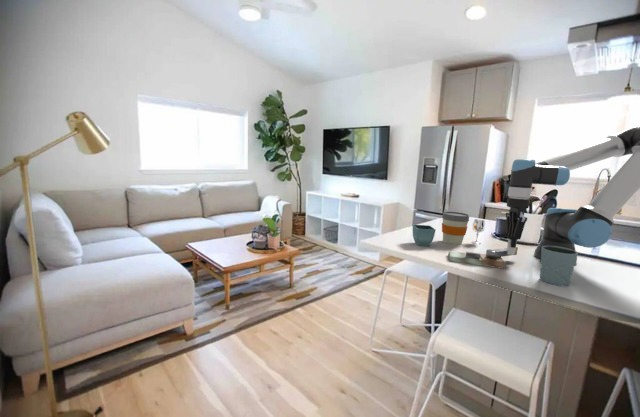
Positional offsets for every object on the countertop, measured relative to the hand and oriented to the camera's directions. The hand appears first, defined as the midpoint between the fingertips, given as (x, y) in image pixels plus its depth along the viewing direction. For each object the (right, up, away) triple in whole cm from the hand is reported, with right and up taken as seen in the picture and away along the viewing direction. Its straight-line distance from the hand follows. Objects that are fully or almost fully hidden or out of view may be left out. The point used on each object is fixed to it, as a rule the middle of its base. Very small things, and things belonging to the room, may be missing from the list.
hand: (510, 254), depth 124 cm
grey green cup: (+5, -7, -16) cm, 18 cm away
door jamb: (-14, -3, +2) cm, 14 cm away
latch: (-2, -1, +2) cm, 3 cm away
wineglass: (+2, +1, +31) cm, 31 cm away
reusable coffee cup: (-11, +1, +30) cm, 32 cm away
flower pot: (-29, +1, +23) cm, 37 cm away
